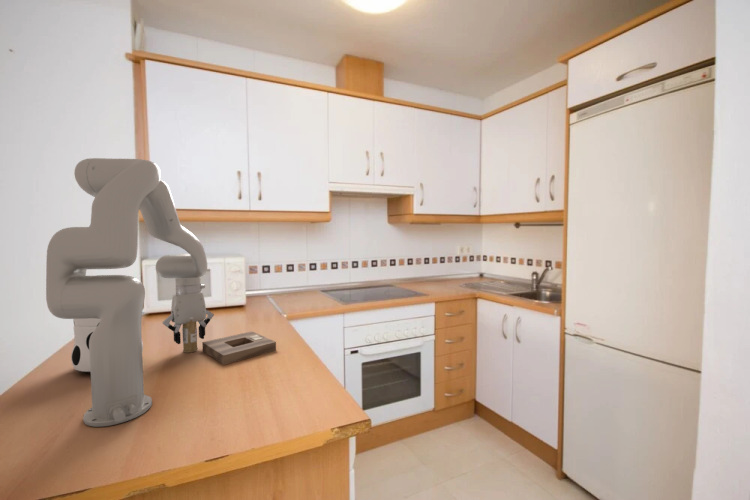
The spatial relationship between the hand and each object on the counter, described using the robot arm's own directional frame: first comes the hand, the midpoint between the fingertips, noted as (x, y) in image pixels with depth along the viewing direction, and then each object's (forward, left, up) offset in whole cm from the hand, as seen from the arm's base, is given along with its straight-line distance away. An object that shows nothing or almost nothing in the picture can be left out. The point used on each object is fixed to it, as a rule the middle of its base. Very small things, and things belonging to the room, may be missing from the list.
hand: (190, 340), depth 119 cm
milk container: (+3, +22, -4) cm, 23 cm away
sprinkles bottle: (0, 0, -4) cm, 4 cm away
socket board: (-12, -12, -4) cm, 17 cm away
